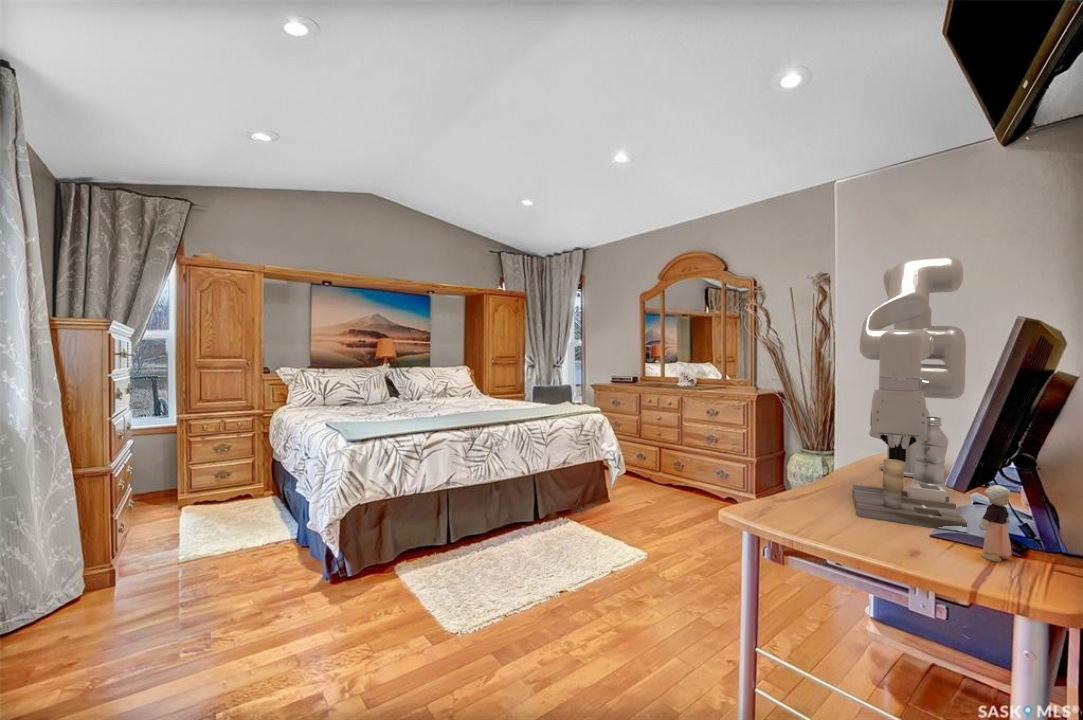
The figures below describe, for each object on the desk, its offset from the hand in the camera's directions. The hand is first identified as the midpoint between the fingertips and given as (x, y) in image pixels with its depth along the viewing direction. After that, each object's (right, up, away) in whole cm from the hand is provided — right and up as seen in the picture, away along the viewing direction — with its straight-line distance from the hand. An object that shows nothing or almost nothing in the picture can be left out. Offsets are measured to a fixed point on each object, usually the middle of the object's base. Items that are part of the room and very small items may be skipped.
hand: (896, 464), depth 109 cm
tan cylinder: (-6, -8, -6) cm, 11 cm away
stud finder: (+4, -8, -3) cm, 9 cm away
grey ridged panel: (-1, -10, -4) cm, 11 cm away
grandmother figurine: (-2, -11, -26) cm, 28 cm away
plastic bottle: (+10, -10, +4) cm, 15 cm away
